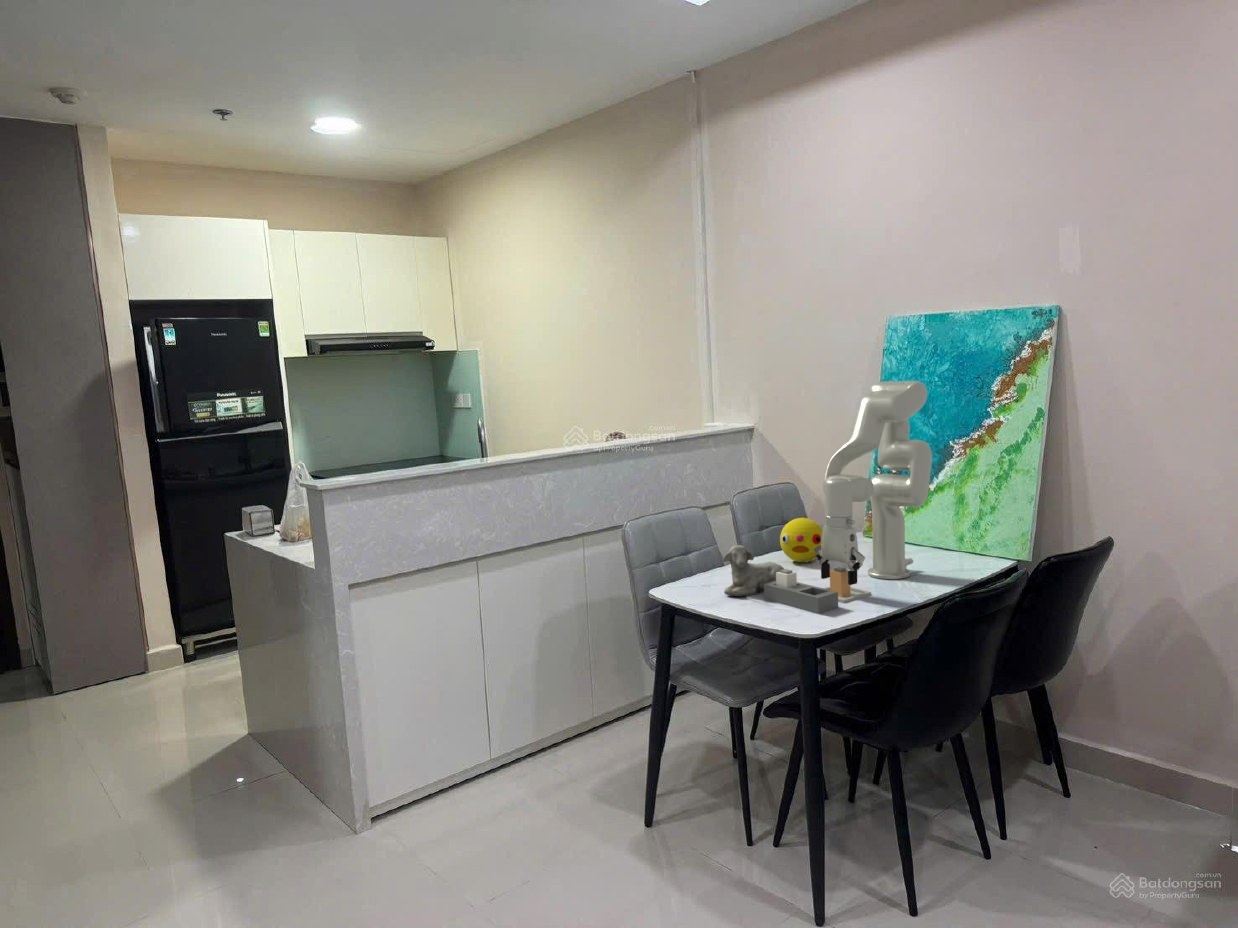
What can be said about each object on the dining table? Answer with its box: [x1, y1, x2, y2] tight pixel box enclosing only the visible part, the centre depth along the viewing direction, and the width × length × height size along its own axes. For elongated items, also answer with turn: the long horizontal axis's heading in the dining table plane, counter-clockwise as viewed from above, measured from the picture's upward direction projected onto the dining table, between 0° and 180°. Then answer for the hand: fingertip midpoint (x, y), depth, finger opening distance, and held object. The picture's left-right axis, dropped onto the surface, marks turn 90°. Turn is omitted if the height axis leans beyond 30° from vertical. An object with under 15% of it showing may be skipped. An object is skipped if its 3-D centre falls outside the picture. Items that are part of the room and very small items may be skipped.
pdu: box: [763, 568, 839, 615], centre depth 228 cm, size 8×20×9 cm, turn 35°
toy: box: [779, 517, 823, 563], centre depth 275 cm, size 15×16×15 cm
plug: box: [829, 566, 851, 597], centre depth 234 cm, size 4×4×8 cm
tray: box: [822, 585, 872, 604], centre depth 235 cm, size 12×12×1 cm
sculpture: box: [721, 544, 785, 597], centre depth 243 cm, size 11×21×15 cm, turn 123°
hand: (838, 580), depth 234 cm, fingers open, 9 cm apart
